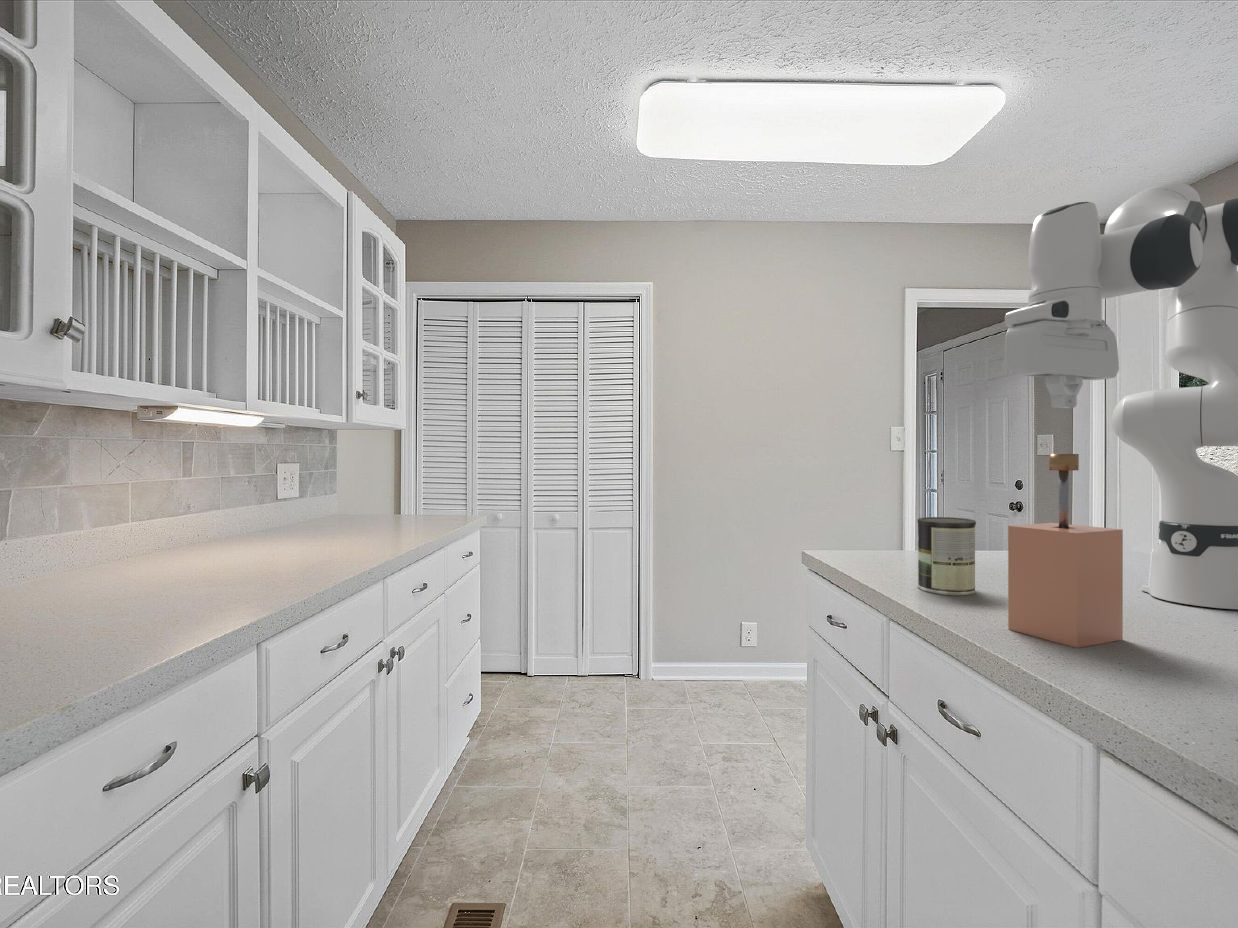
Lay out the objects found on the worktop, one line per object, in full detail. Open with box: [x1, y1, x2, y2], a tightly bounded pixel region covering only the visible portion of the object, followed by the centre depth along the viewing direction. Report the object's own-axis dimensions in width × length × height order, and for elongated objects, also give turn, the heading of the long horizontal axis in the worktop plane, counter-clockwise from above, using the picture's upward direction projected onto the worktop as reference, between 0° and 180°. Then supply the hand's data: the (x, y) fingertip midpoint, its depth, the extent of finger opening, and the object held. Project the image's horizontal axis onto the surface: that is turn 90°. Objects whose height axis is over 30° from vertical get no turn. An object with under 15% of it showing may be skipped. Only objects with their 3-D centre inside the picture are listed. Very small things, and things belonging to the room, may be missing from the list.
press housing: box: [1007, 522, 1124, 649], centre depth 91 cm, size 10×10×16 cm
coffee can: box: [916, 516, 977, 596], centre depth 122 cm, size 10×10×14 cm
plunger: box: [1048, 453, 1080, 529], centre depth 91 cm, size 8×8×13 cm
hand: (1064, 407), depth 91 cm, fingers closed
